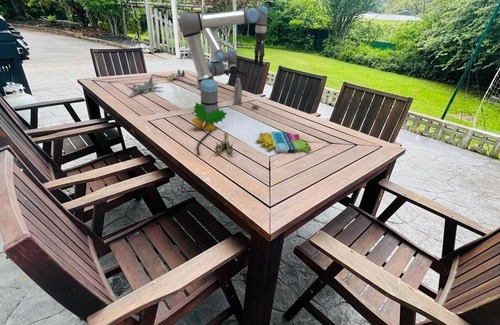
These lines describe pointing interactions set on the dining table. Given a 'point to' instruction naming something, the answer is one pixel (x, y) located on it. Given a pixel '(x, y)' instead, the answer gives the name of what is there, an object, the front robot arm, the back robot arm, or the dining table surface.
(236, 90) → the bottle
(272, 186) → the dining table surface
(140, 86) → the airplane
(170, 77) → the toy
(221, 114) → the ornament
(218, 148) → the jawbone
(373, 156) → the dining table surface
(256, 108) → the cap
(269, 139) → the packaged fuzzy gloves
